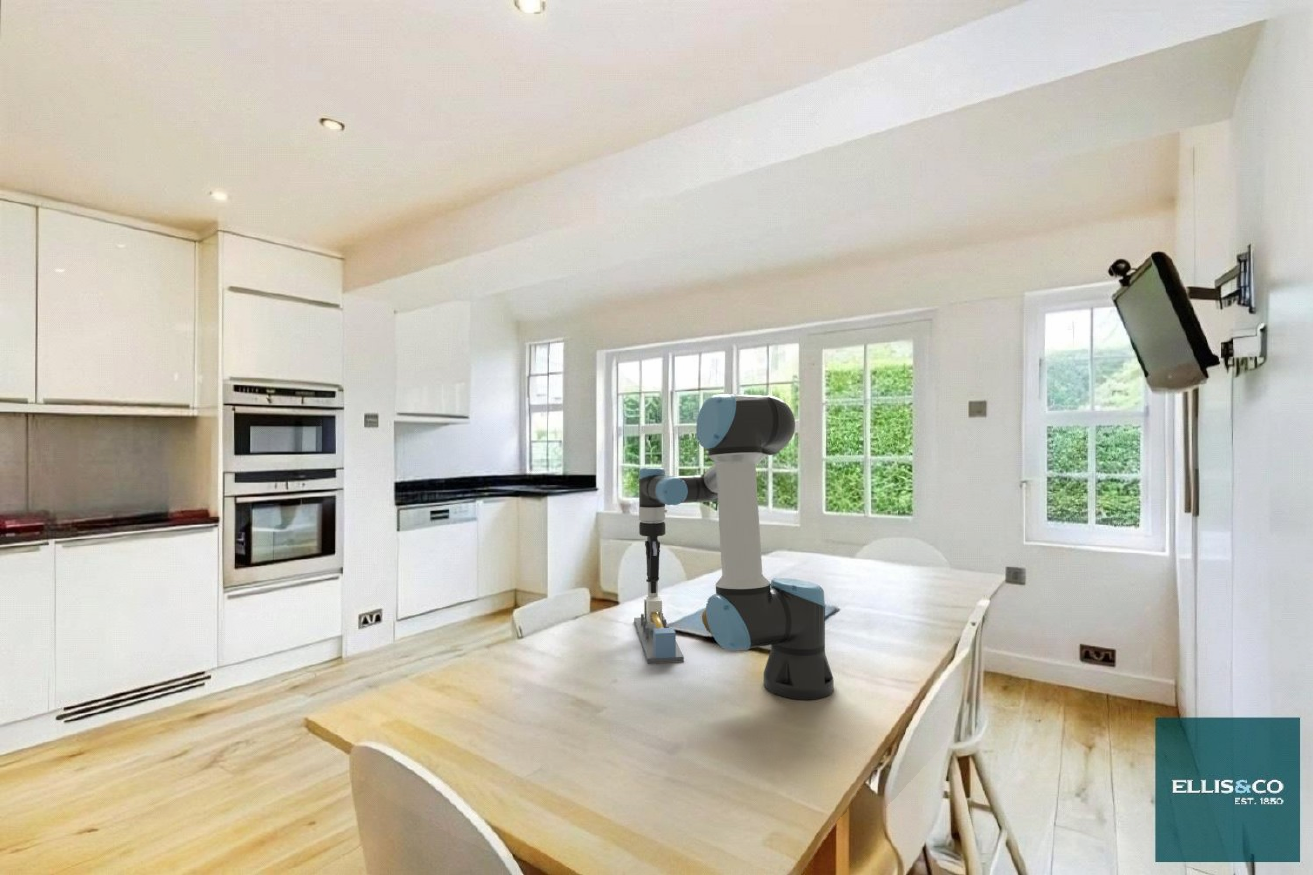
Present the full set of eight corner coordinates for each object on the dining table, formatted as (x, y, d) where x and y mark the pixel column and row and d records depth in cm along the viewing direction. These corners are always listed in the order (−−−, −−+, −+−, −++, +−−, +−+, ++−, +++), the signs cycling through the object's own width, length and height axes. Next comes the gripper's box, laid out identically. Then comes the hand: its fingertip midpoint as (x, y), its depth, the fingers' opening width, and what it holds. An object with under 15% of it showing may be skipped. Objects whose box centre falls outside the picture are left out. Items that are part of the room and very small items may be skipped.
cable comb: (683, 661, 148) (683, 632, 148) (647, 663, 147) (647, 633, 147) (663, 620, 182) (663, 596, 182) (634, 621, 181) (634, 597, 181)
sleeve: (662, 623, 167) (662, 600, 167) (648, 624, 166) (648, 601, 166) (659, 618, 172) (659, 596, 172) (646, 618, 171) (646, 596, 171)
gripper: (668, 524, 167) (669, 609, 166) (662, 518, 179) (662, 597, 179) (641, 524, 166) (642, 610, 165) (637, 518, 179) (637, 598, 178)
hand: (652, 603), depth 172 cm, fingers closed
